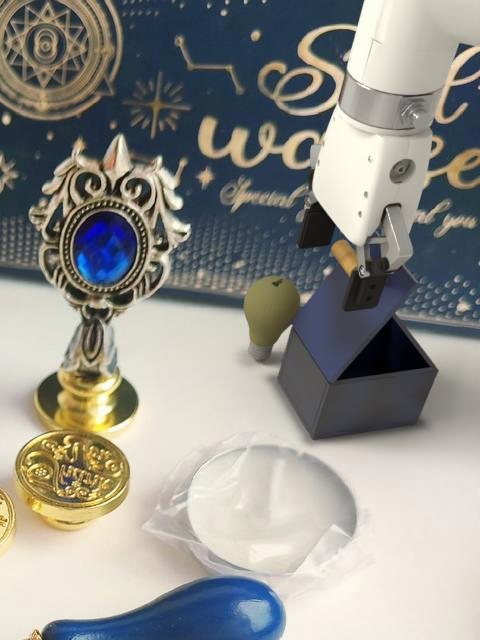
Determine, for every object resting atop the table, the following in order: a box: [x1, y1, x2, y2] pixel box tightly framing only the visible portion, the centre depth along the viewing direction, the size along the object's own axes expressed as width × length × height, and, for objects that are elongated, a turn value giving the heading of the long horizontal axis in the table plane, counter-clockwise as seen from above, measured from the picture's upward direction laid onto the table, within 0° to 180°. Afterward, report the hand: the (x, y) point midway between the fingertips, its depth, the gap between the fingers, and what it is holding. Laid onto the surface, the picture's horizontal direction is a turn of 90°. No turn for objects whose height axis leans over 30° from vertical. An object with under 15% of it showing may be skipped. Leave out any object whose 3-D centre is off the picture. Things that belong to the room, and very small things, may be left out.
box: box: [276, 312, 440, 440], centre depth 108 cm, size 11×9×7 cm
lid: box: [291, 229, 421, 383], centre depth 100 cm, size 12×9×5 cm
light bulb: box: [243, 275, 301, 362], centre depth 112 cm, size 6×6×10 cm
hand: (335, 275), depth 98 cm, fingers open, 9 cm apart
